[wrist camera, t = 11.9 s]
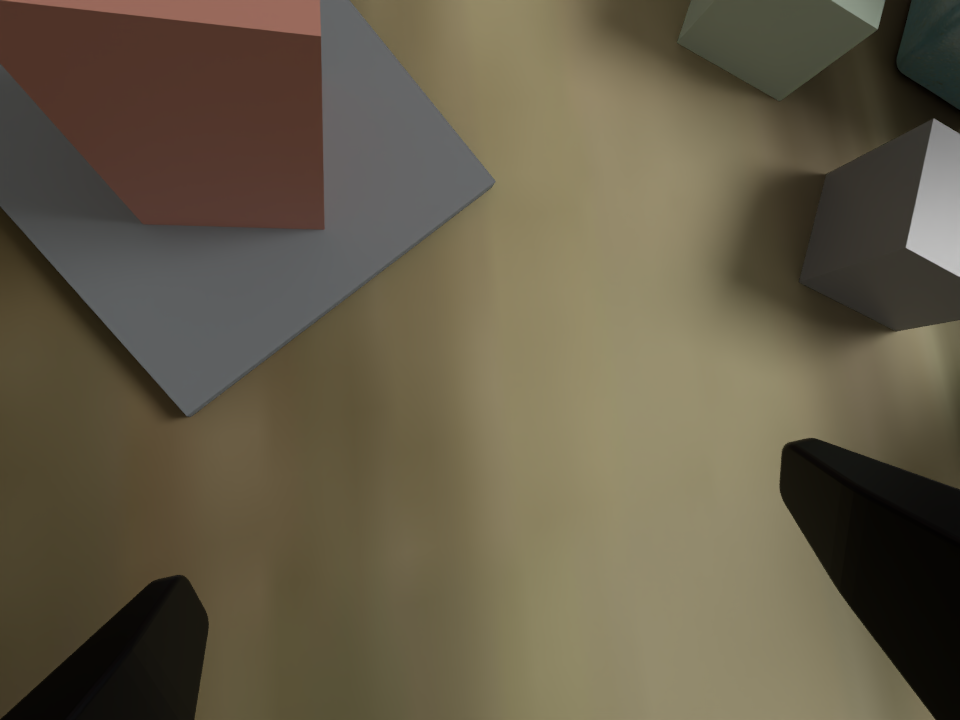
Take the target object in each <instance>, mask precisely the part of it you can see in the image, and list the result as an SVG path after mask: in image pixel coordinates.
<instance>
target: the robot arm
mask: <svg viewBox="0 0 960 720" xmlns="http://www.w3.org/2000/svg"><path fill="white" fill-rule="evenodd" d="M780 493H781V497H782V499H783V501H784V503H785V505H786V507H787V508H788V510H789V511H790V513H791V515H792V516H793V518H794V520H795V521H796V523H797V525H798V526H799V528H800V529H801V531H802V533H803V534H804V536H805V538H806V539H807V541H808V543H809V544H810V546H811V548H812V549H813V551H814V552H815V554H816V556H817V557H818V559H819V561H820V562H821V564H822V566H823V567H824V569H825V570H826V572H827V574H828V575H829V577H830V579H831V580H832V582H833V583H834V585H835V586H836V588H837V589H838V591H839V592H840V594H841V595H842V596H843V598H844V599H845V601H846V602H847V603H848V605H849V606H850V607H851V609H852V610H853V611H854V613H855V614H856V615H857V617H858V618H859V619H860V621H861V622H862V623H863V625H864V626H865V627H866V629H867V630H868V631H869V633H870V634H871V635H872V636H873V638H874V639H875V640H876V642H877V643H878V644H879V646H880V647H881V648H882V650H883V651H884V652H885V654H886V655H887V656H888V658H889V659H890V660H891V662H892V663H893V664H894V665H895V667H896V668H897V669H898V671H899V672H900V673H901V675H902V676H903V677H904V679H905V680H906V681H907V683H908V684H909V685H910V687H911V688H912V689H913V691H914V692H915V693H916V695H917V696H918V697H919V698H920V700H921V701H922V702H923V704H924V705H925V706H926V708H927V709H928V710H929V712H930V713H931V714H932V716H933V717H934V718H935V720H960V490H959V489H957V488H954V487H951V486H948V485H945V484H942V483H940V482H937V481H934V480H931V479H928V478H926V477H923V476H920V475H917V474H914V473H911V472H909V471H906V470H903V469H900V468H897V467H895V466H892V465H889V464H886V463H883V462H880V461H878V460H875V459H872V458H869V457H866V456H864V455H861V454H858V453H855V452H852V451H849V450H847V449H844V448H841V447H838V446H835V445H833V444H830V443H827V442H824V441H821V440H818V439H815V438H807V439H802V440H797V441H793V442H789V443H787V444H785V445H784V447H783V449H782V456H781V471H780ZM208 628H209V622H208V616H207V613H206V610H205V609H204V607H203V605H202V603H201V601H200V600H199V598H198V596H197V594H196V592H195V590H194V589H193V587H192V585H191V583H190V582H189V580H188V579H187V578H186V577H185V576H183V575H175V576H170V577H166V578H161V579H157V580H154V581H153V582H151V583H150V584H148V585H147V586H146V587H145V588H144V589H143V590H142V591H141V592H140V593H139V594H137V595H136V596H135V597H134V598H133V599H132V600H131V601H130V602H129V603H128V604H127V605H125V606H124V607H123V608H122V609H121V610H120V611H119V612H118V613H117V614H116V615H114V616H113V617H112V618H111V619H110V620H109V621H108V622H107V623H106V624H105V625H103V626H102V627H101V628H100V629H99V630H98V631H97V632H96V633H95V634H94V635H92V636H91V637H90V638H89V639H88V640H87V641H86V642H85V643H84V644H83V645H81V646H80V647H79V648H78V649H77V650H76V651H75V652H74V653H73V654H72V655H70V656H69V657H68V658H67V659H66V660H65V661H64V662H63V663H62V664H61V665H59V666H58V667H57V668H56V669H55V670H54V671H53V672H52V673H51V674H50V675H48V676H47V677H46V678H45V679H44V680H43V681H42V682H41V683H40V684H39V685H38V686H36V687H35V688H34V689H33V690H32V691H31V692H30V693H29V694H28V695H27V696H25V697H24V698H23V699H22V700H21V701H20V702H19V703H18V704H17V705H16V706H14V707H13V708H12V709H11V710H10V711H9V712H8V713H7V714H6V715H5V716H3V717H2V718H1V719H0V720H194V718H195V712H196V705H197V699H198V693H199V686H200V680H201V674H202V667H203V661H204V655H205V648H206V642H207V635H208Z"/></svg>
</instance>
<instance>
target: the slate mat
mask: <svg viewBox="0 0 960 720" xmlns="http://www.w3.org/2000/svg"><path fill="white" fill-rule="evenodd" d="M320 21H321V65H322V118H323V171H324V224H325V230H318V229H284V228H250V227H216V226H182V225H148V224H142V223H141V221H140V220H139V219H138V218H137V217H136V216H135V215H134V214H133V212H132V211H131V210H130V209H129V208H128V207H127V206H126V205H125V203H124V202H123V201H122V200H121V199H120V198H119V197H118V196H117V194H116V193H115V192H114V191H113V190H112V189H111V188H110V187H109V185H108V184H107V183H106V182H105V181H104V180H103V179H102V178H101V176H100V175H99V174H98V173H97V172H96V171H95V170H94V169H93V167H92V166H91V165H90V164H89V163H88V162H87V161H86V160H85V158H84V157H83V156H82V155H81V154H80V153H79V152H78V151H77V149H76V148H75V147H74V146H73V145H72V144H71V143H70V141H69V140H68V139H67V138H66V137H65V136H64V135H63V134H62V132H61V131H60V130H59V129H58V128H57V127H56V126H55V125H54V123H53V122H52V121H51V120H50V119H49V118H48V117H47V116H46V114H45V113H44V112H43V111H42V110H41V109H40V108H39V107H38V105H37V104H36V103H35V102H34V101H33V100H32V99H31V98H30V96H29V95H28V94H27V93H26V92H25V91H24V90H23V89H22V87H21V86H20V85H19V84H18V83H17V82H16V81H15V80H14V78H13V77H12V76H11V75H10V74H9V73H8V72H7V71H6V69H5V68H4V67H3V66H2V65H1V64H0V206H1V208H2V209H3V210H4V211H5V212H6V213H7V214H8V215H9V217H10V218H11V219H12V220H13V221H14V222H15V223H16V224H17V226H18V227H19V228H20V229H21V230H22V231H23V232H24V233H25V235H26V236H27V237H28V238H29V239H30V240H31V241H32V242H33V244H34V245H35V246H36V247H37V248H38V249H39V250H40V252H41V253H42V254H43V255H44V256H45V257H46V258H47V259H48V261H49V262H50V263H51V264H52V265H53V266H54V267H55V268H56V270H57V271H58V272H59V273H60V274H61V275H62V276H63V277H64V279H65V280H66V281H67V282H68V283H69V284H70V285H71V286H72V288H73V289H74V290H75V291H76V292H77V293H78V294H79V295H80V297H81V298H82V299H83V300H84V301H85V302H86V303H87V304H88V306H89V307H90V308H91V309H92V310H93V311H94V312H95V313H96V315H97V316H98V317H99V318H100V319H101V320H102V321H103V322H104V324H105V325H106V326H107V327H108V328H109V329H110V330H111V331H112V333H113V334H114V335H115V336H116V337H117V338H118V339H119V340H120V342H121V343H122V344H123V345H124V346H125V347H126V348H127V349H128V351H129V352H130V353H131V354H132V355H133V356H134V357H135V358H136V360H137V361H138V362H139V363H140V364H141V365H142V366H143V367H144V369H145V370H146V371H147V372H148V373H149V374H150V375H151V376H152V378H153V379H154V380H155V381H156V382H157V383H158V384H159V385H160V387H161V388H162V389H163V390H164V391H165V392H166V393H167V394H168V396H169V397H170V398H171V399H172V400H173V401H174V402H175V403H176V405H177V406H178V407H179V408H180V409H181V410H182V411H183V412H184V414H185V415H186V416H189V417H191V416H193V415H194V414H195V413H196V412H198V411H199V410H200V409H202V408H203V407H204V406H206V405H207V404H208V403H210V402H211V401H212V400H214V399H215V398H216V397H217V396H219V395H220V394H221V393H223V392H224V391H225V390H227V389H228V388H229V387H231V386H232V385H233V384H235V383H236V382H237V381H238V380H240V379H241V378H242V377H244V376H245V375H246V374H248V373H249V372H250V371H252V370H253V369H254V368H256V367H257V366H258V365H259V364H261V363H262V362H263V361H265V360H266V359H267V358H269V357H270V356H271V355H273V354H274V353H275V352H277V351H278V350H279V349H280V348H282V347H283V346H284V345H286V344H287V343H288V342H290V341H291V340H292V339H294V338H295V337H296V336H298V335H299V334H300V333H301V332H303V331H304V330H305V329H307V328H308V327H309V326H311V325H312V324H313V323H315V322H316V321H317V320H319V319H320V318H321V317H322V316H324V315H325V314H326V313H328V312H329V311H330V310H332V309H333V308H334V307H336V306H337V305H338V304H340V303H341V302H342V301H343V300H345V299H346V298H347V297H349V296H350V295H351V294H353V293H354V292H355V291H357V290H358V289H359V288H360V287H362V286H363V285H364V284H366V283H367V282H368V281H370V280H371V279H372V278H374V277H375V276H376V275H378V274H379V273H380V272H381V271H383V270H384V269H385V268H387V267H388V266H389V265H391V264H392V263H393V262H395V261H396V260H397V259H399V258H400V257H401V256H402V255H404V254H405V253H406V252H408V251H409V250H410V249H412V248H413V247H414V246H416V245H417V244H418V243H420V242H421V241H422V240H423V239H425V238H426V237H427V236H429V235H430V234H431V233H433V232H434V231H435V230H437V229H438V228H439V227H441V226H442V225H443V224H444V223H446V222H447V221H448V220H450V219H451V218H452V217H454V216H455V215H456V214H458V213H459V212H460V211H462V210H463V209H464V208H465V207H467V206H468V205H469V204H471V203H472V202H473V201H475V200H476V199H477V198H479V197H480V196H481V195H483V194H484V193H485V192H486V191H488V190H489V189H490V188H492V186H493V185H494V183H495V182H496V181H495V180H494V179H493V177H492V176H491V175H490V174H489V172H488V171H487V170H486V169H485V168H484V166H483V165H482V164H481V163H480V161H479V160H478V159H477V158H476V156H475V155H474V154H473V153H472V151H471V150H470V149H469V148H468V146H467V145H466V144H465V143H464V142H463V140H462V139H461V138H460V137H459V135H458V134H457V133H456V132H455V130H454V129H453V128H452V127H451V125H450V124H449V123H448V122H447V121H446V119H445V118H444V117H443V116H442V114H441V113H440V112H439V111H438V109H437V108H436V107H435V106H434V104H433V103H432V102H431V101H430V99H429V98H428V97H427V96H426V95H425V93H424V92H423V91H422V90H421V88H420V87H419V86H418V85H417V83H416V82H415V81H414V80H413V78H412V77H411V76H410V75H409V73H408V72H407V71H406V70H405V69H404V67H403V66H402V65H401V64H400V62H399V61H398V60H397V59H396V57H395V56H394V55H393V54H392V52H391V51H390V50H389V49H388V47H387V46H386V45H385V44H384V43H383V41H382V40H381V39H380V38H379V36H378V35H377V34H376V33H375V31H374V30H373V29H372V28H371V26H370V25H369V24H368V23H367V21H366V20H365V19H364V18H363V17H362V15H361V14H360V13H359V12H358V10H357V9H356V8H355V7H354V5H353V4H352V3H351V2H350V0H320Z"/></svg>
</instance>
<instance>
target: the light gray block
mask: <svg viewBox="0 0 960 720" xmlns="http://www.w3.org/2000/svg"><path fill="white" fill-rule="evenodd" d="M799 282H800V283H802V284H803V285H805V286H807V287H809V288H811V289H813V290H815V291H817V292H819V293H821V294H823V295H825V296H827V297H829V298H831V299H833V300H835V301H837V302H839V303H841V304H843V305H845V306H847V307H849V308H851V309H853V310H855V311H857V312H859V313H861V314H863V315H865V316H867V317H869V318H871V319H873V320H875V321H877V322H879V323H881V324H883V325H885V326H887V327H889V328H891V329H893V330H895V331H901V330H907V329H912V328H918V327H923V326H929V325H935V324H940V323H946V322H951V321H957V320H960V134H959V133H957V132H956V131H954V130H952V129H951V128H949V127H947V126H946V125H944V124H942V123H941V122H939V121H937V120H936V119H934V118H933V119H931V120H929V121H928V122H926V123H924V124H922V125H920V126H918V127H916V128H914V129H912V130H910V131H908V132H906V133H905V134H903V135H901V136H899V137H897V138H895V139H893V140H891V141H889V142H887V143H885V144H883V145H881V146H880V147H878V148H876V149H874V150H872V151H870V152H868V153H866V154H864V155H862V156H860V157H858V158H856V159H855V160H853V161H851V162H849V163H847V164H845V165H843V166H841V167H839V168H837V169H835V170H833V171H831V172H830V173H828V174H826V177H825V181H824V185H823V189H822V193H821V197H820V201H819V205H818V209H817V213H816V217H815V221H814V224H813V228H812V232H811V236H810V240H809V244H808V248H807V252H806V256H805V260H804V264H803V268H802V272H801V275H800V279H799Z"/></svg>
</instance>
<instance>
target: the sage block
mask: <svg viewBox="0 0 960 720" xmlns="http://www.w3.org/2000/svg"><path fill="white" fill-rule="evenodd" d="M884 3H885V0H691V2H690V5H689V8H688V11H687V14H686V17H685V20H684V23H683V26H682V29H681V32H680V35H679V38H678V41H677V43H678V44H680V45H682V46H684V47H685V48H687V49H689V50H691V51H692V52H694V53H696V54H698V55H699V56H701V57H703V58H705V59H706V60H708V61H710V62H712V63H713V64H715V65H717V66H719V67H720V68H722V69H724V70H726V71H727V72H729V73H731V74H733V75H734V76H736V77H738V78H740V79H741V80H743V81H745V82H747V83H748V84H750V85H752V86H754V87H755V88H757V89H759V90H761V91H762V92H764V93H766V94H768V95H769V96H771V97H773V98H775V99H776V100H778V101H781V100H782V99H784V98H785V97H787V96H788V95H789V94H791V93H792V92H793V91H795V90H796V89H797V88H799V87H800V86H802V85H803V84H804V83H806V82H807V81H808V80H810V79H811V78H812V77H814V76H815V75H817V74H818V73H819V72H821V71H822V70H823V69H825V68H826V67H827V66H829V65H830V64H832V63H833V62H834V61H836V60H837V59H838V58H840V57H841V56H842V55H844V54H845V53H847V52H848V51H849V50H851V49H852V48H853V47H855V46H856V45H857V44H859V43H860V42H862V41H863V40H864V39H866V38H867V37H868V36H870V35H871V34H872V33H874V32H875V31H877V30H878V27H879V23H880V19H881V15H882V11H883V7H884Z"/></svg>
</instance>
